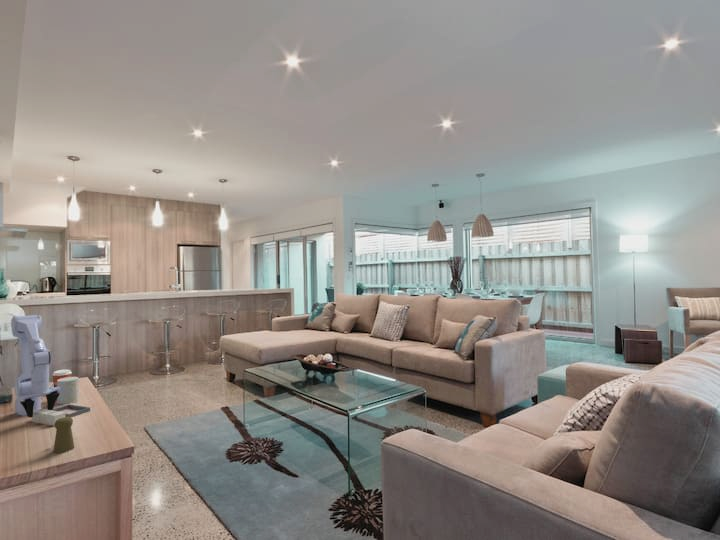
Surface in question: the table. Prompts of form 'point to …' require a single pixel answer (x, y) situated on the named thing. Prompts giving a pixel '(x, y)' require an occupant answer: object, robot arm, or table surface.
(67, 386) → the cup
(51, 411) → the off-white stacked cube
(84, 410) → the bin
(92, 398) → the table surface
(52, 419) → the off-white block
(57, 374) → the paper cup
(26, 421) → the brown flat slab
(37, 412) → the cream matte cube
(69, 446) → the cork
